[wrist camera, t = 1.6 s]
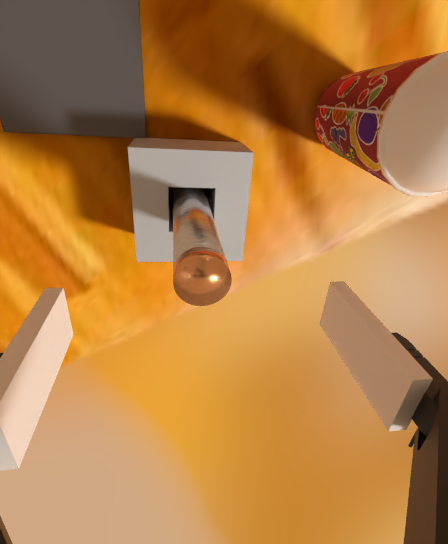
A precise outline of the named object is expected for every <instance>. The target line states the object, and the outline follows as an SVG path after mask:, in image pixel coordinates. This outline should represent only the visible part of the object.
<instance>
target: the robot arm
mask: <svg viewBox="0 0 448 544" xmlns="http://www.w3.org/2000/svg"><path fill="white" fill-rule="evenodd" d="M320 325H321V327H322V328H323V330H324V331H325V333H326V334H327V336H328V338H329V339H330V341H331V342H332V344H333V345H334V347H335V348H336V350H337V352H338V353H339V355H340V356H341V358H342V359H343V361H344V362H345V364H346V366H347V367H348V369H349V370H350V372H351V374H352V375H353V377H354V378H355V380H356V381H357V383H358V384H359V386H360V388H361V389H362V391H363V392H364V394H365V395H366V397H367V398H368V400H369V401H370V403H371V405H372V406H373V408H374V409H375V411H376V413H377V414H378V416H379V417H380V419H381V420H382V422H383V423H384V425H385V427H386V428H387V430H388V431H396V430H406V429H407V427H408V426H409V424H410V422H411V420H413V421H414V422H415V424H416V425H417V426H418V429H417V430H416V432H415V434H414V436H413V438H412V440H411V442H410V444H409V447H412V446H413V444H414V449H413V459H412V469H411V478H410V488H409V498H408V508H407V517H406V527H405V537H404V544H448V382H447V380H446V379H445V378H444V377H443V376H442V375H441V374H440V373H439V372H438V371H437V370H436V369H435V368H434V367H433V366H432V365H431V364H430V363H429V361H428V360H427V359H425V358H423V355H422V354H421V353H420V352H419V351H418V350H416V348H415V347H414V346H413V345H412V344H411V343H410V342H409V341H408V340H407V339H406V338H404V337H403V336H401V335H399V334H398V333H391V332H390V331H389V330H388V329H387V328H386V327H385V326H384V325H383V324H382V323H381V322H380V320H379V319H377V317H376V316H375V315H374V314H373V313H372V312H371V311H370V309H368V307H367V306H366V305H365V304H364V303H363V302H362V301H361V300H360V299H359V298H358V296H357V295H356V294H355V293H354V292H353V291H352V290H351V289H350V288H349V286H348V285H347V284H346V283H345V282H330V286H329V290H328V293H327V297H326V301H325V305H324V309H323V313H322V317H321V321H320ZM72 337H73V331H72V326H71V321H70V316H69V312H68V307H67V302H66V298H65V293H64V288H45V290H44V291H43V293H42V294H41V296H40V298H39V299H38V301H37V302H36V304H35V305H34V307H33V308H32V310H31V312H30V313H29V315H28V316H27V318H26V319H25V321H24V322H23V324H22V325H21V327H20V329H19V330H18V332H17V333H16V335H15V336H14V338H13V339H12V341H11V343H10V344H9V346H8V347H7V349H6V350H5V352H4V353H0V471H1V470H11V469H19V467H20V464H21V462H22V459H23V457H24V455H25V452H26V450H27V447H28V445H29V442H30V440H31V437H32V435H33V432H34V430H35V428H36V425H37V423H38V420H39V418H40V415H41V413H42V410H43V408H44V405H45V403H46V400H47V398H48V396H49V393H50V391H51V388H52V386H53V383H54V381H55V378H56V376H57V373H58V371H59V369H60V366H61V364H62V361H63V359H64V356H65V354H66V351H67V349H68V346H69V344H70V342H71V339H72ZM0 544H12V542H11V539H10V537H9V535H8V533H7V530H6V528H5V526H4V524H3V521H2V519H1V517H0Z"/></svg>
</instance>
